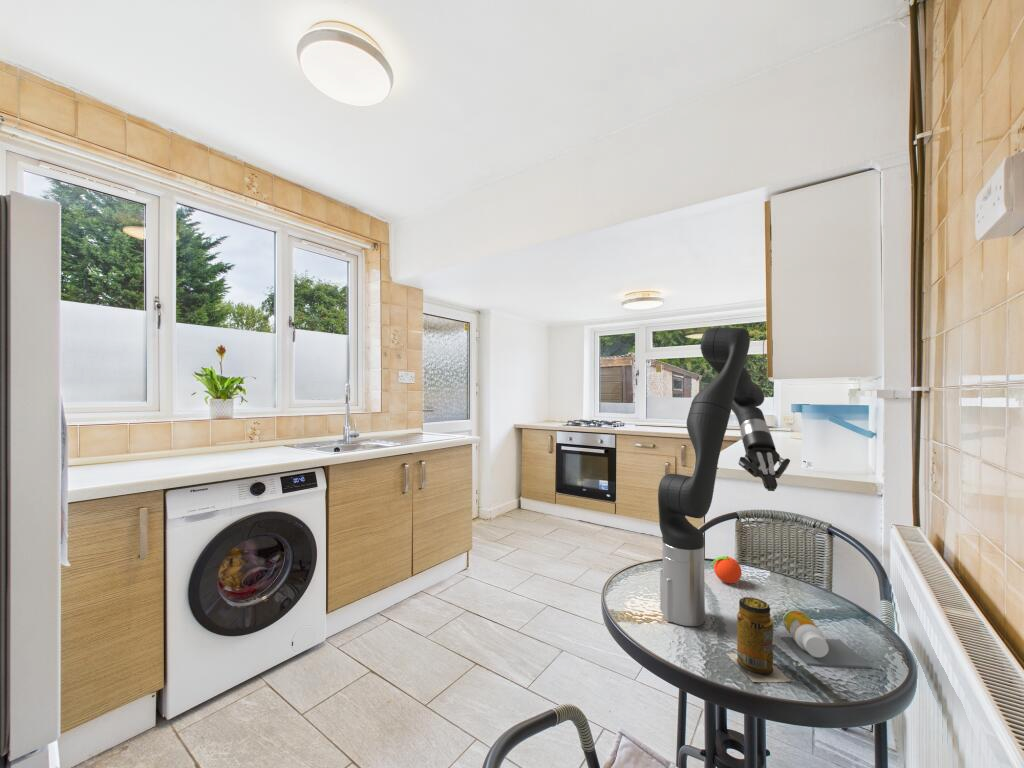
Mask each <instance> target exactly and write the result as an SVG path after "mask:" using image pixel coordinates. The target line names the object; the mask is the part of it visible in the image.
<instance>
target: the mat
mask: <svg viewBox="0 0 1024 768" xmlns="http://www.w3.org/2000/svg"><path fill="white" fill-rule="evenodd" d="M780 640H782V642H783V643H785V645H786V646H788V647H789V649H790V650H791V651H792V652H793V653H794V654H796V656H797V657H798V658H799V659H800V660H801V661H802V662H803V663H804V664H805V665H806V666H814V667H815V666H817V667H831V668H832V667H837V668H853V669H855V668H856V669H859V668H860V669H873V665H871V664H870V663H869V662H867V660H865V659H864V658H863V657H862V656H861V655H860V654H858V653H857V652H855V651H854V650H853V649H852V648H851V647H849V646H848V645H847V644H846V643H845V642H844V641H842V640H841V639H840V638H839V639H838V638H825V640H826V642H827V644H828V648H829V650H828V653H827V654H826V655H825V656H823V657H814V656H812V655H811V654H809V653H808V652H807V651H805V650H803V649H802V648H801V647H800V646H799V645H798V644H797V643H796V641H795V640H794V639H793V638H792V636H780Z"/></svg>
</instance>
